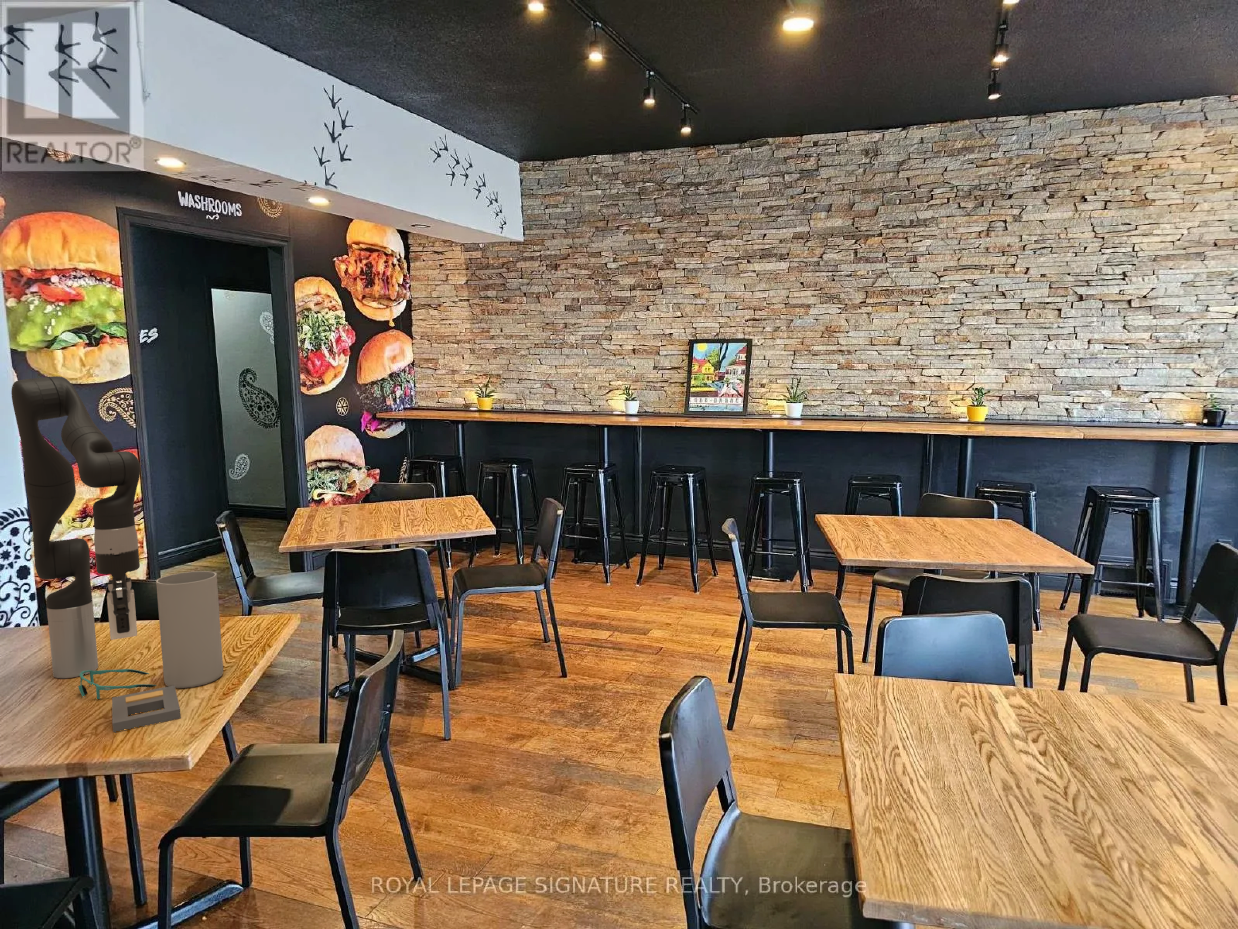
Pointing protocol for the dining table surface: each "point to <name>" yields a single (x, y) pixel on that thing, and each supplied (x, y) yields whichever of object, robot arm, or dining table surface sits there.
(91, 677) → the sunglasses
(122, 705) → the plate
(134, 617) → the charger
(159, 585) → the cylinder vase
